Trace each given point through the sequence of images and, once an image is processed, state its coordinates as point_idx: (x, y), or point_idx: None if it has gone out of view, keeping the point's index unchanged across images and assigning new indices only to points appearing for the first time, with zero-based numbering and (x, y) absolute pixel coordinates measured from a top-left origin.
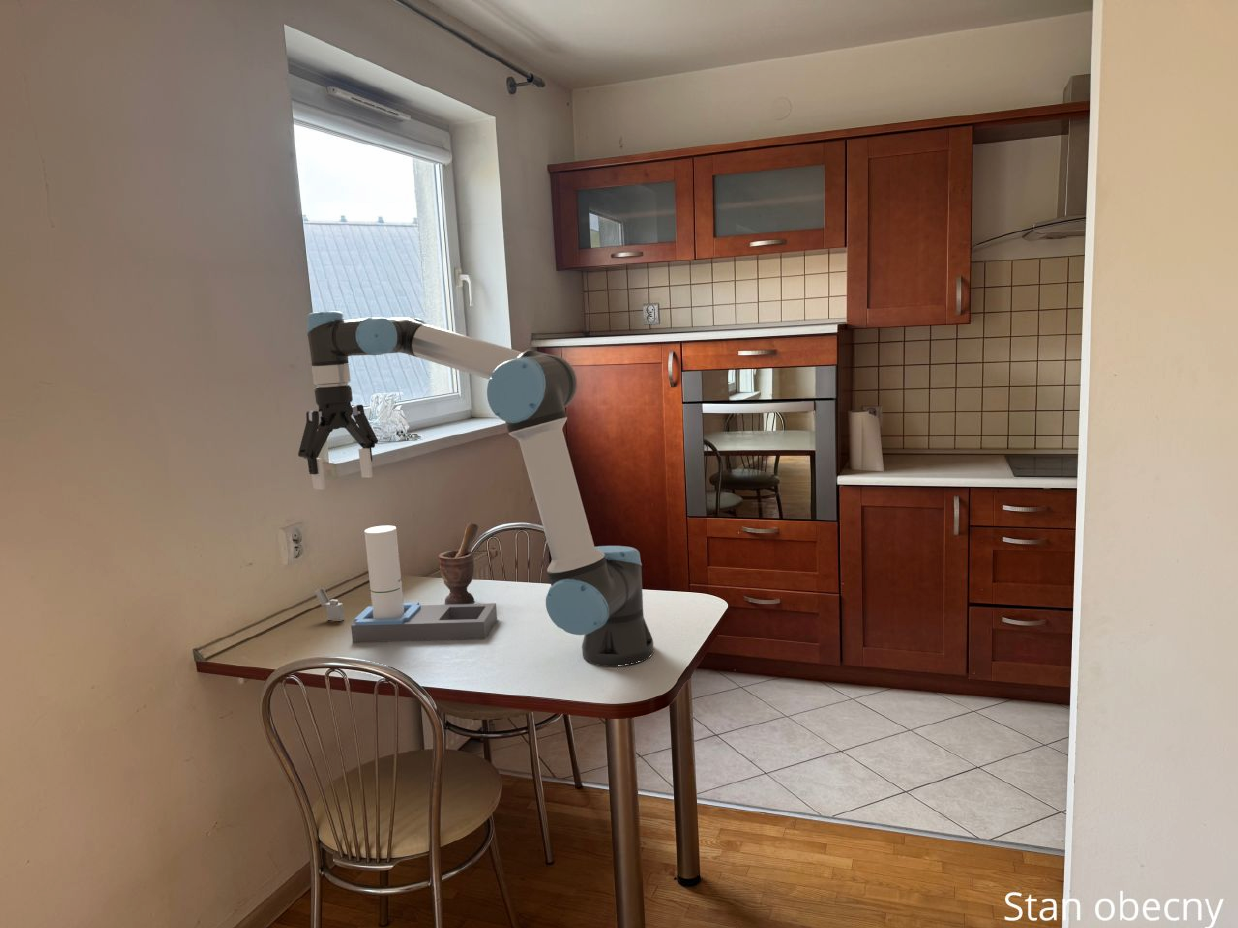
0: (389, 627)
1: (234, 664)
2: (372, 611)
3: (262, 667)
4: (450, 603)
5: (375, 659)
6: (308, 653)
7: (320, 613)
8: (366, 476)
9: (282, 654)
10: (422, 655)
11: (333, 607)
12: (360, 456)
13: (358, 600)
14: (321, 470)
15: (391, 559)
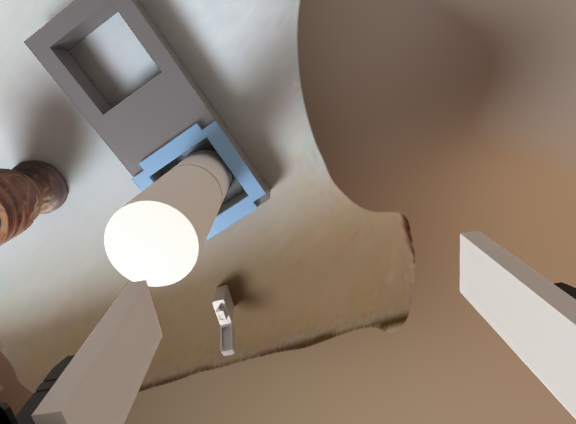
0: (230, 140)
1: (413, 265)
2: None
3: (402, 220)
4: (61, 183)
5: (298, 89)
6: (336, 210)
7: None
8: (151, 307)
9: (357, 240)
10: (244, 27)
11: (227, 306)
12: (117, 420)
13: None
14: (533, 280)
15: (174, 180)
